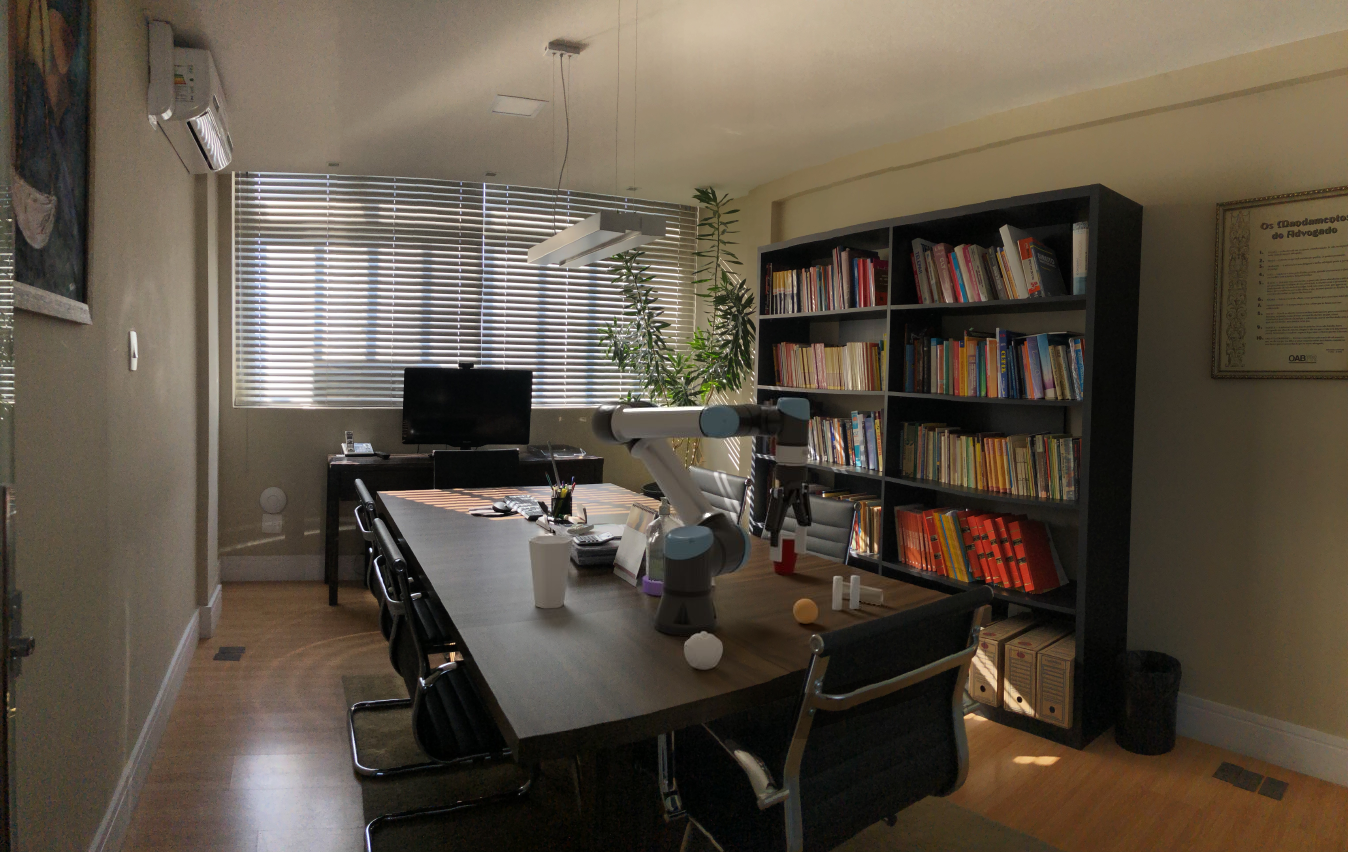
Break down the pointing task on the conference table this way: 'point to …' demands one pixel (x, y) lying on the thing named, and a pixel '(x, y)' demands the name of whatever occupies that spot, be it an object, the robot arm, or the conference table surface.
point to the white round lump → (703, 650)
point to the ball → (805, 611)
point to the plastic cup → (786, 556)
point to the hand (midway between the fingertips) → (788, 556)
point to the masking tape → (652, 586)
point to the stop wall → (864, 594)
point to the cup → (550, 569)
